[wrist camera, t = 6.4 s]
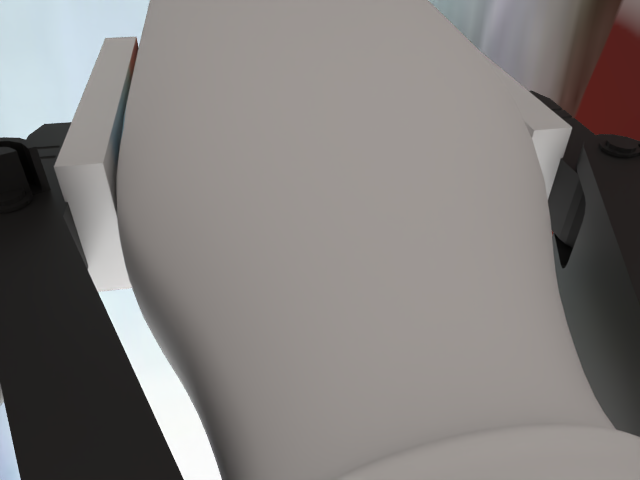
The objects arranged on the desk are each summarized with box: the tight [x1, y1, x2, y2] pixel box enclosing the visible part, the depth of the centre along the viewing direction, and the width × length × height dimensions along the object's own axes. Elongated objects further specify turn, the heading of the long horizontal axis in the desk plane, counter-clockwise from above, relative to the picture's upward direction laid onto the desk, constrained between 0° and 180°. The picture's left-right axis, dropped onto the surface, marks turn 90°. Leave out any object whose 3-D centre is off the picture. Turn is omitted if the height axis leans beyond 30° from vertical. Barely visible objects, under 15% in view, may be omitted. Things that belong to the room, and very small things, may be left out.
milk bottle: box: [116, 0, 640, 480], centre depth 12 cm, size 8×8×20 cm
